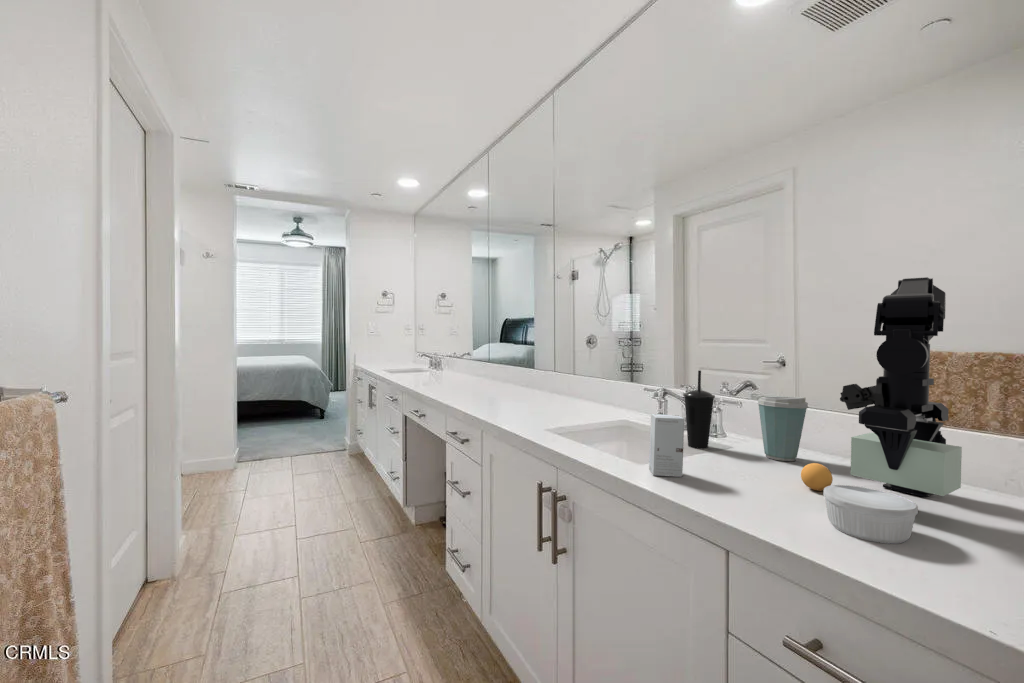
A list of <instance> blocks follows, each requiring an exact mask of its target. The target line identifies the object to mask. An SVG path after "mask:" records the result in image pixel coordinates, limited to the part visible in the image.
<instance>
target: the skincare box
mask: <svg viewBox="0 0 1024 683" xmlns="http://www.w3.org/2000/svg"><path fill="white" fill-rule="evenodd" d="M649 429H650V431H649V457H648V458H649V461H648V463H649V464H648V470H649V472H650V473H651V475H652V476H653V477H654V476H655V477H656V476H661V477H676V478H677V477H678V478H680V477H681V478H682V477H683V470H684V469H683V468H684V466H683V465H684V443H685V442H684V440H685V439H684V437H685V436H684V435H685V418H684V417H682V416H680V415H677V414H658V413H657V414H656V413H650V428H649Z"/></svg>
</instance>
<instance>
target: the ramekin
mask: <svg viewBox="0 0 1024 683" xmlns="http://www.w3.org/2000/svg"><path fill="white" fill-rule="evenodd" d="M823 497H824V498H825V500H824V501H825V507H826V513H827V519H828V521H829V523H830V524H831V525H832V526H833V527H834V528H835V529H837V530H838V531H840V532H842V533H844V534H846V535H849V536H852V537H855V538H857V539H861V540H864V541H869V542H875V543H879V542H880V543H879V544H890V543H891V544H901V543H905V542H906V541H907V540H909V539H910V537H911V535H912V533H913V528H914V524H915V519H916V515H918V514H919V506H918V504H917V503H916V502H915V501H912V500H911V499H908V498H907V497H904V496H900V495H899V494H895V493H892V492H888V491H883V490H880V489H875V488H870V487H866V486H858V485H850V484H849V485H847V484H846V485H845V484H831V486H827V487H825V488H824V490H823Z"/></svg>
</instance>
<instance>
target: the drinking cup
mask: <svg viewBox="0 0 1024 683" xmlns="http://www.w3.org/2000/svg"><path fill="white" fill-rule="evenodd" d="M701 378H702V371H701V370H698V371H697V389H693V390H690V391H687V392H686V393H683V396H684V406H685V407H684V408H685V424H686V436H687V446H688V447H689V448H693V449H699V450H701V449H702V450H704V449H708V447H709V441H710V432H711V431H710V430H711V424H712V418H713V417H712V416H713V408H714V399H715V398H716V396H715V394H712V393H710V392H708V391H705V390H702V389H701V387H702V384H701V382H702V381H701V380H702V379H701Z"/></svg>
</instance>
